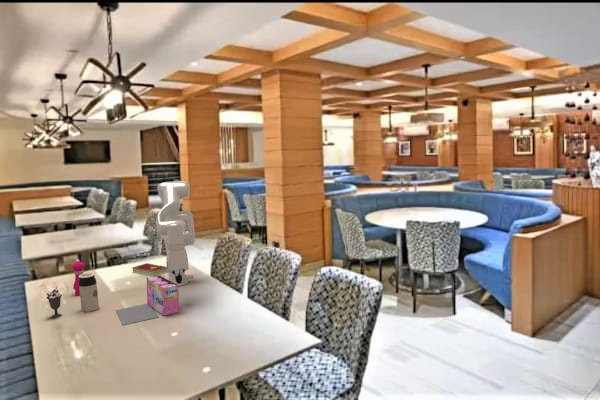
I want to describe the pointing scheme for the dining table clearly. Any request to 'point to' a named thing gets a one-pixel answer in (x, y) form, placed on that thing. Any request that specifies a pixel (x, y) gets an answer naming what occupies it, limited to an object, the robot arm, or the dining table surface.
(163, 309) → the gum box
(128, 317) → the rubber mat
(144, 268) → the hardcover book
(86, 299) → the travel mug
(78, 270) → the pepper mill
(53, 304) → the sundae
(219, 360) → the dining table surface
